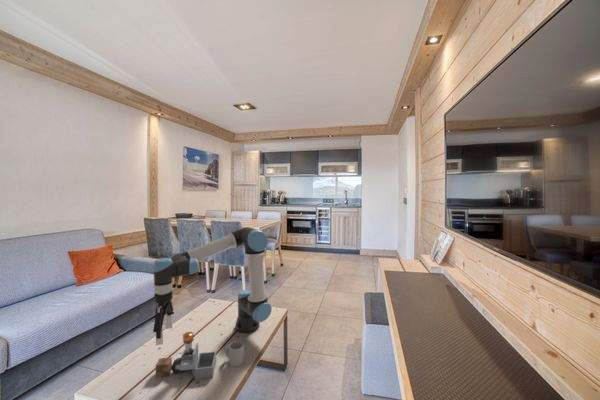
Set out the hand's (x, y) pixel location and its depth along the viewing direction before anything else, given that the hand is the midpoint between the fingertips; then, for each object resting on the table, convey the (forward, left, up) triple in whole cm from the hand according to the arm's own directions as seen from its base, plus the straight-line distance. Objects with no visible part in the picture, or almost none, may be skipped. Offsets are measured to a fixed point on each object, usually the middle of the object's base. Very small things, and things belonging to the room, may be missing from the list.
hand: (164, 335), depth 123 cm
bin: (-19, +1, -18) cm, 26 cm away
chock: (0, 0, -18) cm, 18 cm away
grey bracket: (-9, 0, -18) cm, 20 cm away
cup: (-32, -3, -18) cm, 37 cm away
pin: (-10, -1, -12) cm, 16 cm away
